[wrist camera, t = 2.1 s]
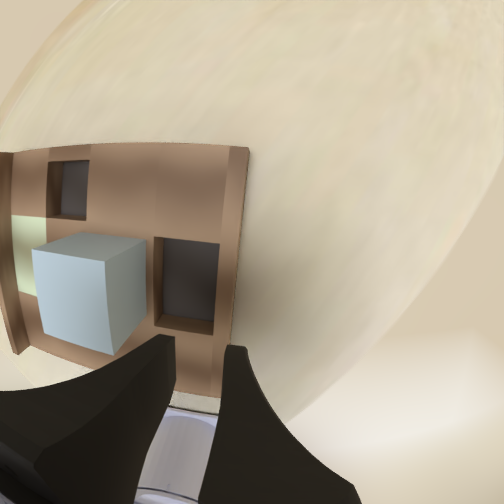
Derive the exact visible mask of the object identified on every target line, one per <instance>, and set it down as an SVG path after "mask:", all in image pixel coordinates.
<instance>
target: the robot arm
mask: <svg viewBox="0 0 504 504" xmlns="http://www.w3.org/2000/svg"><path fill="white" fill-rule="evenodd" d="M176 380H177V379H176V351H175V336H169V335H164V334H158V335H156V336H154V337H153V338H151V339H149V340H148V341H146V342H145V343H143V344H142V345H140V346H138V347H137V348H135V349H133V350H132V351H130V352H129V353H127V354H125V355H124V356H122V357H120V358H118V359H116V360H114V361H112V362H111V363H109V364H107V365H105V366H103V367H101V368H99V369H97V370H94V371H92V372H90V373H87V374H85V375H82V376H80V377H77V378H74V379H71V380H68V381H64V382H60V383H57V384H53V385H49V386H45V387H39V388H34V389H27V390H17V391H0V504H362V503H361V501H360V498H359V496H358V494H357V491H356V489H355V487H354V485H353V484H351V483H350V482H348V481H347V480H345V479H344V478H342V477H340V476H339V475H338V474H336V473H335V472H333V471H332V470H330V469H329V468H328V467H326V466H325V465H324V464H322V463H321V462H320V461H319V460H318V459H316V458H315V457H314V456H313V455H312V454H311V453H310V452H309V451H308V450H307V449H306V448H305V447H304V446H303V445H302V444H301V443H300V442H299V441H298V440H297V439H296V438H295V437H294V436H293V435H292V434H291V433H290V431H289V430H288V429H287V428H286V427H285V425H284V424H283V423H282V422H281V420H280V419H279V417H278V416H277V415H276V413H275V412H274V410H273V409H272V407H271V406H270V404H269V402H268V401H267V399H266V397H265V395H264V394H263V392H262V390H261V388H260V386H259V384H258V381H257V379H256V377H255V375H254V372H253V370H252V367H251V364H250V361H249V357H248V351H247V349H246V347H244V346H236V345H228V344H227V346H226V349H225V353H224V363H223V376H222V390H221V404H220V410H219V415H218V416H216V415H209V414H203V413H197V412H191V411H185V410H180V409H175V408H171V407H168V405H169V403H170V400H171V397H172V394H173V390H174V387H175V383H176Z"/></svg>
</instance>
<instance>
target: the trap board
mask: <svg viewBox="0 0 504 504" xmlns="http://www.w3.org/2000/svg"><path fill="white" fill-rule="evenodd" d="M249 153H250V151H249V148H248V147H237V146H224V145H210V144H191V143H105V144H87V145H73V146H62V147H52V148H43V149H35V150H28V151H21V152H15V153H8V152H0V306H1V310H2V315H3V319H4V323H5V327H6V330H7V334H8V337H9V341H10V344H11V347H12V350H13V353H15V354H17V355H19V354H20V353H21V352H23V351H24V350H25V349H26V348H27V347H29V346H30V345H31V346H33V347H36V348H38V349H40V350H43V351H45V352H47V353H50V354H52V355H55V356H57V357H60V358H63V359H65V360H68V361H71V362H73V363H76V364H79V365H82V366H85V367H88V368H91V369H94V370H97V369H99V368H101V367H103V366H105V365H107V364H109V363H111V362H112V361H114V360H116V359H118V358H120V357H122V356H124V355H125V354H127V353H129V352H130V351H132V350H133V349H135V348H137V347H138V346H140V345H142V344H143V343H145V342H146V341H148V340H149V339H151V338H153V337H154V336H156V335H158V334H164V335H169V336H175V351H176V379H177V380H176V383H175V387H174V391H179V392H185V393H190V394H196V395H202V396H208V397H215V398H221V390H222V376H223V363H224V353H225V349H226V346H227V344H228V345H230V338H231V327H232V316H233V306H234V295H235V285H236V275H237V265H238V255H239V245H240V236H241V226H242V217H243V207H244V198H245V189H246V180H247V171H248V162H249ZM80 232H85V233H93V234H102V235H111V236H120V237H128V238H137V239H146V309H147V315H146V316H145V318H144V319H143V320H142V321H141V322H140V324H139V325H138V326H137V327H136V329H135V330H134V331H133V332H132V333H131V335H130V336H129V337H128V338H127V340H126V341H125V342H124V343H123V345H122V346H121V347H120V348H119V350H118V351H117V352H116V353H115V355H114V356H113V355H110V354H106V353H103V352H99V351H96V350H92V349H89V348H86V347H83V346H80V345H76V344H73V343H70V342H68V341H65V340H62V339H59V338H56V337H53V336H51V335H48V334H45V333H44V329H43V325H42V320H41V315H40V310H39V305H38V299H37V293H36V286H35V279H34V270H33V261H32V249H33V248H36V247H39V246H41V245H44V244H47V243H50V242H53V241H56V240H59V239H61V238H64V237H67V236H70V235H73V234H76V233H80Z"/></svg>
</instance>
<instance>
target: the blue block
mask: <svg viewBox="0 0 504 504" xmlns="http://www.w3.org/2000/svg"><path fill="white" fill-rule="evenodd" d="M32 261H33V270H34V279H35V286H36V293H37V299H38V305H39V310H40V315H41V320H42V325H43V329H44V333H45V334H48V335H51V336H53V337H56V338H59V339H62V340H65V341H68V342H70V343H73V344H76V345H80V346H83V347H86V348H89V349H92V350H96V351H99V352H103V353H106V354H110V355H113V356H114V355H115V353H116V352H117V351H118V350H119V348H120V347H121V346H122V345H123V343H124V342H125V341H126V340H127V338H128V337H129V336H130V335H131V333H132V332H133V331H134V330H135V329H136V327H137V326H138V325H139V324H140V322H141V321H142V320H143V319H144V318H145V316H146V315H147V309H146V239H137V238H128V237H120V236H111V235H102V234H93V233H85V232H80V233H76V234H73V235H70V236H67V237H64V238H61V239H59V240H56V241H53V242H50V243H47V244H44V245H41V246H39V247H36V248H33V249H32Z"/></svg>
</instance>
